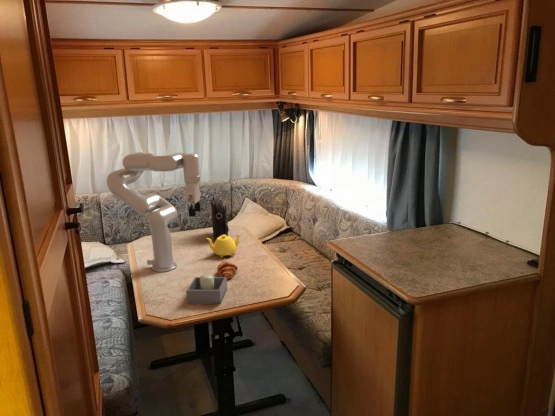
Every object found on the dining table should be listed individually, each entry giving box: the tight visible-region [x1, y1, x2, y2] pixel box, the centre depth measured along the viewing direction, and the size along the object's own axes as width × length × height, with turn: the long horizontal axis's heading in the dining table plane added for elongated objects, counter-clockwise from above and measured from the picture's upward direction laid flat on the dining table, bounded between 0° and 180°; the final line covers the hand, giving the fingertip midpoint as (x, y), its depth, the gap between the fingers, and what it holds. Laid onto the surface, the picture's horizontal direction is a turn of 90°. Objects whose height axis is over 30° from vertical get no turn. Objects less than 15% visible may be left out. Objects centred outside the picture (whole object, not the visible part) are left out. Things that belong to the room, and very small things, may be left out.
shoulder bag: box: [210, 193, 230, 242], centre depth 284 cm, size 23×9×28 cm, turn 15°
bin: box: [185, 276, 228, 305], centre depth 203 cm, size 15×15×6 cm
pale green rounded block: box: [199, 273, 215, 290], centre depth 203 cm, size 6×6×8 cm
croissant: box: [216, 260, 238, 280], centre depth 229 cm, size 21×10×8 cm, turn 5°
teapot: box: [205, 232, 242, 259], centre depth 255 cm, size 20×15×12 cm
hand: (195, 213), depth 226 cm, fingers open, 9 cm apart
